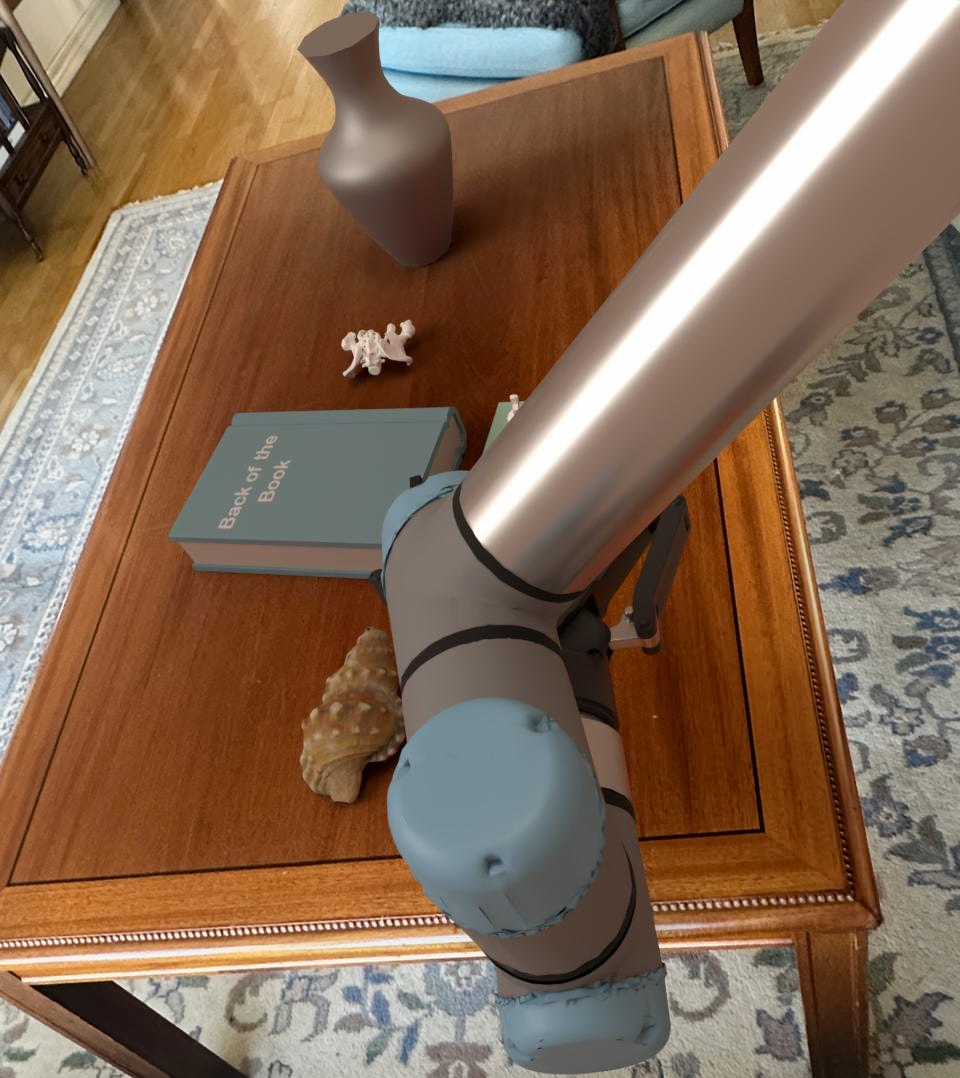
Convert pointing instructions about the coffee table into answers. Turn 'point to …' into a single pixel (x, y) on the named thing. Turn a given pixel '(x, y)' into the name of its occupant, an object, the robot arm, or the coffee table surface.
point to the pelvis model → (377, 348)
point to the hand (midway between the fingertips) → (516, 463)
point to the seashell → (354, 720)
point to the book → (311, 488)
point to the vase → (382, 145)
